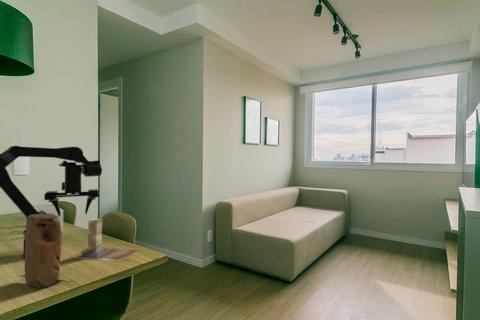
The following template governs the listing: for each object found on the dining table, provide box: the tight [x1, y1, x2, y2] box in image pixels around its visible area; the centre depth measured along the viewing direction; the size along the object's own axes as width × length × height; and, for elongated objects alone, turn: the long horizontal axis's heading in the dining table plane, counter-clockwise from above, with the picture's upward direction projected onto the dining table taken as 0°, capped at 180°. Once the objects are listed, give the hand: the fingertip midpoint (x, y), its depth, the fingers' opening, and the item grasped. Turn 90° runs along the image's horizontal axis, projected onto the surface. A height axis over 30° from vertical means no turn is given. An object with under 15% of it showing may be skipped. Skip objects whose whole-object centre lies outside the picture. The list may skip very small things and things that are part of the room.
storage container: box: [31, 202, 64, 234], centre depth 138 cm, size 25×11×11 cm, turn 43°
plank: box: [68, 247, 138, 263], centre depth 102 cm, size 20×12×2 cm, turn 84°
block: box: [24, 213, 63, 289], centre depth 82 cm, size 11×8×20 cm
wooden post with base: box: [81, 217, 108, 258], centre depth 100 cm, size 6×6×13 cm
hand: (73, 215), depth 112 cm, fingers open, 9 cm apart
